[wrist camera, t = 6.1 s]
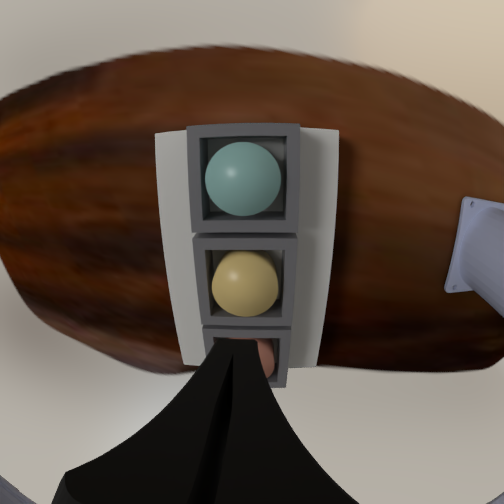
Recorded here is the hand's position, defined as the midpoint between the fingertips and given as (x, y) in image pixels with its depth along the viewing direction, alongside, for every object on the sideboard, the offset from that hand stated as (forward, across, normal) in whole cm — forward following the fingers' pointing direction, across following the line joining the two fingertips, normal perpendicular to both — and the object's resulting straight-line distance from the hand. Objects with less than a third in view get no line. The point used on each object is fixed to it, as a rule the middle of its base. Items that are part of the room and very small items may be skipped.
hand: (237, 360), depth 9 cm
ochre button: (+7, 0, 0) cm, 7 cm away
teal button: (+7, 0, -5) cm, 9 cm away
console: (+10, 0, 0) cm, 10 cm away
